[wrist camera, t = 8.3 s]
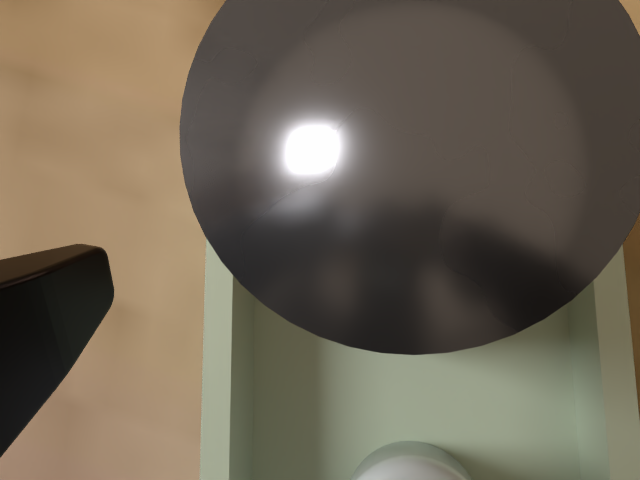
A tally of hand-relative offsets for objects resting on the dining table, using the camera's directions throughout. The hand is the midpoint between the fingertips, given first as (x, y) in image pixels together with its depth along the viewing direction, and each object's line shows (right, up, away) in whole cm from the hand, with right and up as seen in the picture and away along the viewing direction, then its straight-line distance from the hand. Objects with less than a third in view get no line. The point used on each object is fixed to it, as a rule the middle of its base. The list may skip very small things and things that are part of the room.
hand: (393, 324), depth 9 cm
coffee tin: (+2, +1, +10) cm, 10 cm away
